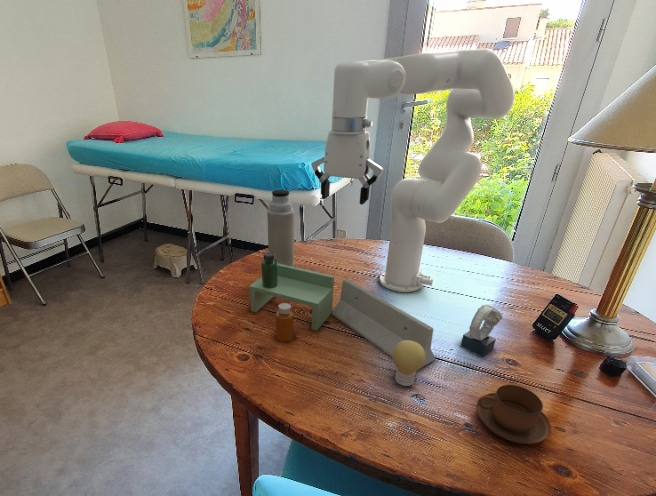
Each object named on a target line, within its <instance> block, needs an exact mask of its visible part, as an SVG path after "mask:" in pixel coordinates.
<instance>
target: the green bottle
mask: <svg viewBox="0 0 656 496" xmlns="http://www.w3.org/2000/svg"><path fill="white" fill-rule="evenodd" d="M260 264H261V266H260V267H261V277H262V286H263V287H265V288H274V287H276V286H277V285H278V268H277V260H276V259H275V253H274V252H268V251H264V253H263V259H262V260H261V263H260Z"/></svg>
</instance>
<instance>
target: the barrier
mask: <svg viewBox="0 0 656 496" xmlns="http://www.w3.org/2000/svg"><path fill="white" fill-rule="evenodd" d="M331 314H332V317H334V318H335V319H337V320H339V321H340V322H342V323H343V324H344V325H346V326H347V327H349V328H350V329H352V330H353V331H354V332H356V333H357V334H359V335H360V336H362V337H363V338H365V339H366V340H367V341H369V342H370V343H371V344H373V345H374V346H376V347H378V348H379V349H380V350H382V351H383V352H384V353H386V354H387V355H389V356H390V357H392V353H393V350H394V348H395V346H396V345H397V344H398V343H399V342H401V341H404V340H410V341H414V342H417V343H419V344H420V345H421V346H422V347H423V349H424V352H425V362H424V364H423V366H422V367H421V368H424V367H425V366H426V365H429V364H431V363H433V362H435V360H436V356H435V354H434V353H433V351H432V349H431V348H432V342H433V335H434V327H432V326H430V325H429V324H427V323H425V322H423V321H422V320H420V319H418V318H416V317H415V316H413V315H411V314H409V313H408V312H406V311H404V310H403V309H400V308H399V307H397V306H395V305H394V304H392V303H390V302H389V301H387V300H385V299H383V298H381V297H379V296H377V294H374V293H373V292H371V291H369V290H367V289H365V288H364V287H362V286H360V285H359V284H356V283H355V282H353V281H352V280H349V279H348V278H345V279H342V283H341V292H340V297H339V301H338V302H337V304H336V306H335V307H334V309H333V310H332V313H331Z"/></svg>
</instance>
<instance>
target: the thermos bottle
mask: <svg viewBox="0 0 656 496" xmlns="http://www.w3.org/2000/svg"><path fill="white" fill-rule="evenodd" d="M271 195H272V197H271V201H270V202H269V203H268V204H269V205H268V209H267V210H266V212H267V213H266V214H267V215H266V216H267V247H268V249H267V250H268V251H267V252H274V253H275V259H276V260H277V263H279V264H283V265H288V266H292V267H295V209H294V208H293V202H292V201H291V200H290V196H289V195H290V191H289V190H287V189H275V190H273V191H272V192H271Z"/></svg>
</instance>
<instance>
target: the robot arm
mask: <svg viewBox="0 0 656 496" xmlns="http://www.w3.org/2000/svg"><path fill="white" fill-rule="evenodd" d="M507 71H508V70H507V69H506V67H505V65H504V63H503V61H502V59H501V58H500V57H499V55H498V54H497V53H496V52H495V51H494V50H493V49H490V48H474V49H473V48H471V49H454V50H453V49H452V50H444V51H443V50H442V51H433V52H421V53H414V54H407V55H403V56H396V57H387V58H377V59H376V58H375V59H367V60H358V61H345V62H340V63H338V64H336V66H335V68H334V74H333V90H332V91H333V93H332V113H331V114H332V115H331V130H330V131H329V132H328V133H327V138H326V143H325V150H324V156H323V157H321V158H318V159H317V160H314V161H312V162H311V164H310V165H311V167H312V170H313V172H314V175H315V176H316V178H317V179H318V182H319V183H320V195H321V199H322V200H326V199H327V198H329V197H330V189H331V187H330V186H331V181H330V180H329V179H330V177H335V178H343V179H355V180H359V182H360V184H361V185H362V186H361V187H360V193H359V205H361V206H362V205H364V204H366V203H367V201H369V198H370V187H371V186H372V185H373V184H374V183H375V182H376V181H378V180H379V178H380V177H381V175H382V173H383V171H384V168H383V166H381V165H379V164H377V162H374V161H373V160H372V159H371V138H370V132H369V131H367V128H372V127H373V124H374V123H373V120H370V119H368V104H369V99H377V100H389V99H392V98H394V97H395V96H397V95H399V94H403V95H421V94H429V93H433V92H441V91H447V90H450V91H449V93H448V95H447V98H446V105H445V106H446V107H445V108H446V111H445V112H446V113H445V114H446V115H445V125H444V129H443V131H442V132H441V134H440V135H439V137H438V138H437V139H436V140H435V142H434V144H433V145H432V146H431V148H430V149H429V150H428V152H427V153H426V154H425V155H424V156H423V158H422V160H420V163H419V165H418V168H417V169H418V171H417V172H418V176H419V177H420V178H421V179H419V178H414V177H408V178H407V177H406V178H403V179H401V180H399V181H398V182H397V183H396V184H395V185H394V187H393V189H392V190H391V197H390V205H391V226H390V236H389V243H388V249H387V258H386V265H385V271H384V272H383V273H381V274H380V276H379V279H378V281H379V283H380V285H381V286H383V288H385V289H388V290H390V291H394V292H399V293H412V292H416V291H418V290H420V289H421V288H422V286H423V285H425V286H429V287H433V283H434V279H432V278H431V276H430V275H425V274H423V273H422V269H421V268H420V267H421V261H422V254H423V249H424V243H425V238H426V233H427V225H426V221H428V222H431V223H434V224H441V223H443V222H446V221H447V220H448V219H449V218H451V216H452V215H453V214H454V213H455V212H456V211H457V209H458V208H459V207H460V206H461V204H462V203H463V202H464V200H465V199H466V198H467V196H468V195H469V193H470V192H471V191H472V190H473V188H474V187H475V186H476V184H477V182H478V181H479V178H480V175H481V173H482V167H483V166H482V161H481V158H480V157H479V156H478V155H477V154H476V153H473V152H470V151H469V150H470V149H471V147H472V146H473V143H474V136H475V135H474V131H473V126H472V121H471V119H481V120H490V121H491V120H492V121H493V120H499V119H503V118H504V117H506V116H507V115H508V114H509V112H511V110H512V108H513V106H514V102H515V88H514V85H513V83H512V81H511V79H510V76H509V74H508V72H507ZM322 164H323V170H322V169H321V167H320V165H322ZM370 170H372V171H373V172H374V173H373V174H372V176H371V177H370V176H369V175H368V174H370Z"/></svg>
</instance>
